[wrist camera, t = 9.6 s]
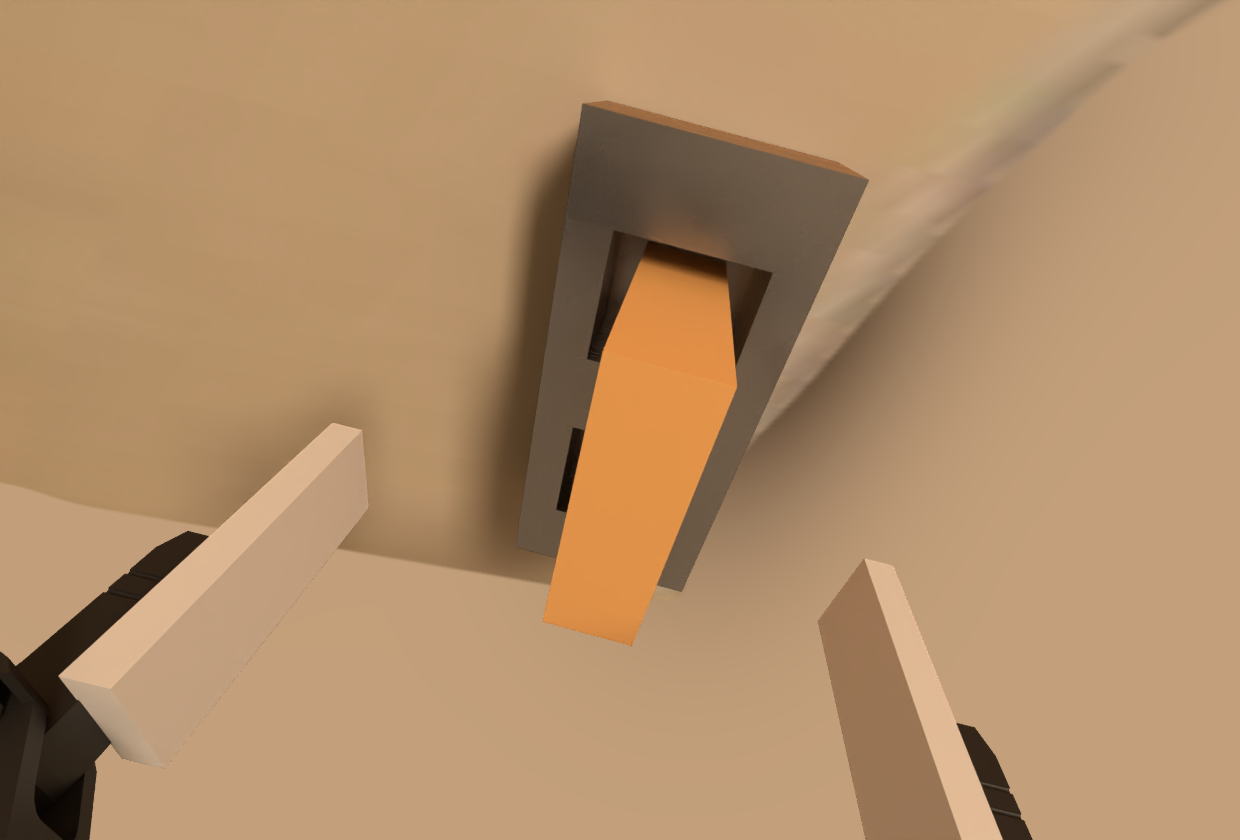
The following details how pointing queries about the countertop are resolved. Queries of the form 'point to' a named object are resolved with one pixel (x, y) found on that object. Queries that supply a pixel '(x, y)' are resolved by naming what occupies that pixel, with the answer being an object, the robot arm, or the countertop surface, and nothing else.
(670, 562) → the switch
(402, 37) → the countertop surface
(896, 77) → the countertop surface
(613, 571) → the orange u-shaped block
